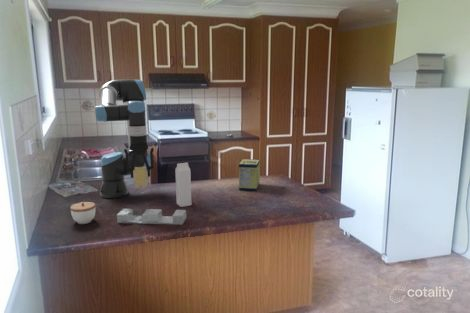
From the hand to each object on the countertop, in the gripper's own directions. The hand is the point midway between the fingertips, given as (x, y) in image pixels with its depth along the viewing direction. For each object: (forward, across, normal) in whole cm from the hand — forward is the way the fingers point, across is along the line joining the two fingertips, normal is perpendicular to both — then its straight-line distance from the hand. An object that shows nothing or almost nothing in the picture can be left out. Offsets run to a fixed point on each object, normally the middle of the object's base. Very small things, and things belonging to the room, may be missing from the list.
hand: (141, 183), depth 180 cm
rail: (+16, +4, -9) cm, 18 cm away
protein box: (+15, +61, +34) cm, 71 cm away
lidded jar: (+16, -26, -3) cm, 31 cm away
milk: (+15, +20, +10) cm, 28 cm away
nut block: (0, 0, 0) cm, 0 cm away
